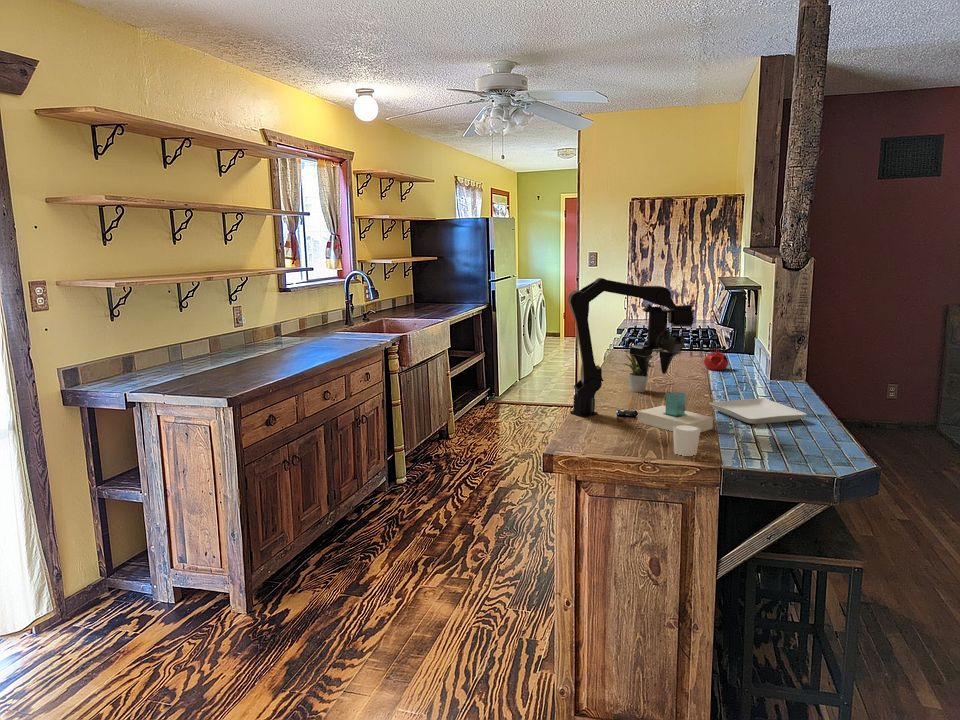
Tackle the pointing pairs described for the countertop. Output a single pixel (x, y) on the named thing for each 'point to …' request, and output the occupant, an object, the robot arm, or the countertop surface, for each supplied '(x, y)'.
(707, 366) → the pomegranate
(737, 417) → the salad plate
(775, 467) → the countertop surface
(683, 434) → the white tapered cup
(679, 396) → the teal rectangular block
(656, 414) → the beige square hole board
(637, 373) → the house plant
